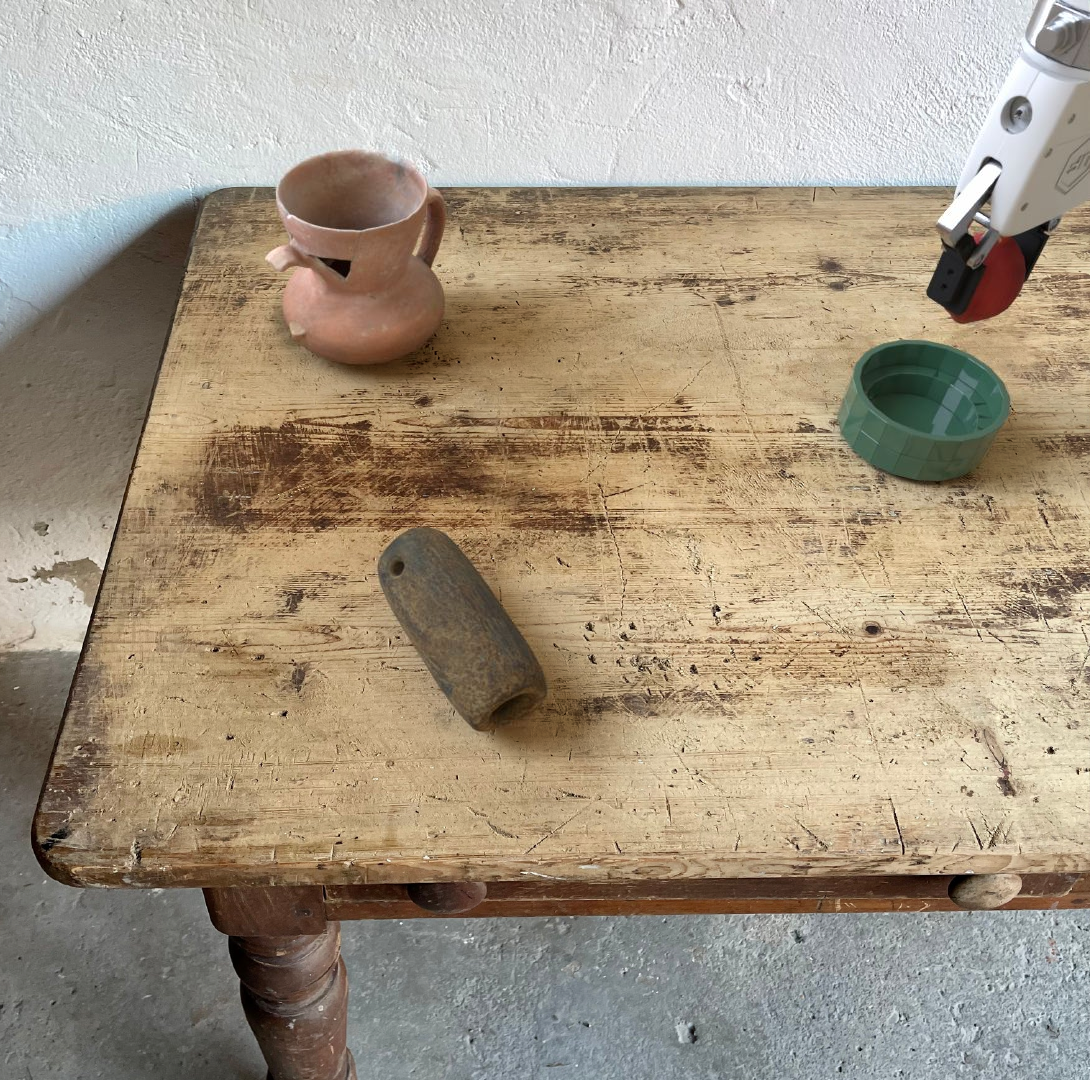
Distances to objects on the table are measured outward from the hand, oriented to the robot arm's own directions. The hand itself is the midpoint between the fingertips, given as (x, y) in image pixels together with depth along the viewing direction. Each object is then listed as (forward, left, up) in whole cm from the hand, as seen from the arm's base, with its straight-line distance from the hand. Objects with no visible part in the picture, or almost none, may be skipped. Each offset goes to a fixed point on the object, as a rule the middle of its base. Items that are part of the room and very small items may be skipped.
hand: (976, 287), depth 73 cm
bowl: (0, 0, -14) cm, 14 cm away
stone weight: (+44, -2, -14) cm, 46 cm away
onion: (0, 0, -3) cm, 3 cm away
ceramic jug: (+31, -37, -14) cm, 50 cm away
